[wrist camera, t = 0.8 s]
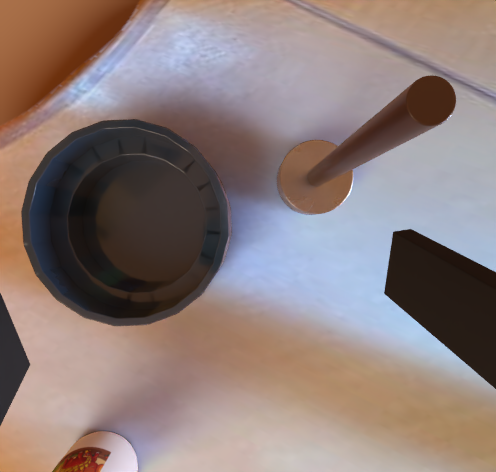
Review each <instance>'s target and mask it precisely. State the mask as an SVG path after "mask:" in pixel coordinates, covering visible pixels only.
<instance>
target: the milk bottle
mask: <svg viewBox="0 0 496 472" xmlns="http://www.w3.org/2000/svg"><path fill="white" fill-rule="evenodd" d="M52 472H138V461H137V457H136V454H135V451H134V449H133V447H132V446H131V444H130V443H129V442H128V441H127V440H126V439H125V438H123V437H121V436H120V435H118V434H115V433H113V432H108V431H99V432H93V433H91V434H88V435H86V436H84V437H82V438H81V439H79V440H78V441H77V442H76V443H75V444H74V445H73V446H72V447H71V448H70V450H69V451H68V452H67V453H66V455H65V456H64V457H63V458H62V460H61V461H60V462H59V463H58V465H57V466H56V467H55V469H54V470H53V471H52Z"/></svg>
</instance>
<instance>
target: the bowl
mask: <svg viewBox="0 0 496 472" xmlns="http://www.w3.org/2000/svg"><path fill="white" fill-rule="evenodd" d="M21 212H22V228H23V242H24V247H25V249H26V252H27V254H28V257H29V259H30V262H31V264H32V267H33V269H34V272H35V274H36V276H37V277H38V278H39V279H40V281H41V282H42V283H43V284H44V285H45V287H46V288H47V289H48V290H49V291H50V293H51V294H52V295H53V296H54V298H55V299H56V300H57V301H59V302H60V303H62V304H63V305H65V306H67V307H68V308H70V309H71V310H73V311H74V312H76V313H77V314H79V315H81V316H82V317H84V318H86V319H90V320H94V321H97V322H101V323H105V324H108V325H112V326H134V325H147V324H151V323H154V322H157V321H159V320H162V319H165V318H167V317H170V316H173V315H175V314H177V313H179V312H180V311H182V310H183V309H184V308H185V307H187V306H188V305H189V304H190V303H192V302H193V301H194V300H196V299H197V298H198V297H199V296H201V295H202V293H204V291H205V289H206V288H207V286H208V285H209V283H210V282H211V280H212V279H213V277H214V276H215V274H216V273H217V271H218V270H219V268H220V267H221V265H222V263H223V262H224V260H225V257H226V254H227V250H228V246H229V243H230V239H231V236H232V223H231V207H230V203H229V201H228V198H227V195H226V193H225V190H224V187H223V185H222V182H221V180H220V179H219V177H218V175H217V174H216V172H215V171H214V170H213V168H212V167H211V166H210V165H209V163H208V162H207V161H206V159H205V158H204V157H203V156H202V154H201V153H200V152H199V151H198V149H197V148H196V147H195V146H194V145H192V144H191V143H189V142H188V141H186V140H185V139H183V138H182V137H180V136H179V135H177V134H176V133H174V132H173V131H171V130H170V129H168V128H165V127H162V126H158V125H155V124H151V123H147V122H144V121H140V120H137V119H131V120H107V121H101V122H98V123H96V124H93V125H90V126H88V127H85V128H82V129H80V130H77V131H74V132H72V133H71V134H69V135H68V136H67V137H66V138H65V139H63V140H62V141H61V142H60V143H58V144H57V145H56V146H55V147H54V148H52V149H51V150H50V151H49V152H47V154H46V155H45V157H44V158H43V160H42V161H41V163H40V165H39V166H38V168H37V169H36V171H35V172H34V174H33V176H32V177H31V179H30V181H29V183H28V187H27V191H26V195H25V199H24V203H23V207H22V211H21Z"/></svg>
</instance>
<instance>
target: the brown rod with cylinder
mask: <svg viewBox="0 0 496 472" xmlns="http://www.w3.org/2000/svg"><path fill="white" fill-rule="evenodd" d="M455 104H456V96H455V92H454V89H453V87H452V86H451V85H450V83H449V82H447V81H446V80H445V79H443V78H441V77H438V76H425V77H422V78H420V79H418V80H416V81H415V82H414V83H413V84H412V85H410V86H409V87H408V88H407V89H406V90H404V91H403V92H402V93H401V94H400V95H399V96H397V97H396V98H395V99H394V100H393V101H391V102H390V103H389V104H388V105H387V106H385V107H384V108H383V109H382V110H381V111H380V112H378V113H377V114H376V115H375V116H374V117H372V118H371V119H370V120H369V121H368V122H366V123H365V124H364V125H363V126H362V127H361V128H359V129H358V130H357V131H356V132H355V133H353V134H352V135H351V136H350V137H349V138H347V139H346V140H345V141H344V142H343V143H342V144H340V145H339V146H338V147H337V146H336V145H334V144H332V143H330V142H327V141H323V140H310V141H306V142H303V143H301V144H299V145H297V146H296V147H294V148H293V149H292V150H291V151H290V152H289V153H288V154H287V156H286V157H285V159H284V160H283V162H282V164H281V166H280V168H279V171H278V175H277V188H278V192H279V194H280V196H281V198H282V200H283V201H284V203H285V204H286V205H287V206H288V207H290V208H291V209H292V210H294V211H296V212H298V213H301V214H306V215H314V214H322V213H326V212H329V211H331V210H333V209H335V208H337V207H338V206H339V205H341V204H342V203H343V202H344V200H345V199H346V198H347V196H348V195H349V193H350V190H351V187H352V183H353V170H352V169H354V168H356V167H358V166H360V165H362V164H364V163H366V162H368V161H370V160H372V159H373V158H375V157H377V156H379V155H381V154H383V153H385V152H387V151H389V150H391V149H393V148H395V147H397V146H399V145H401V144H403V143H405V142H407V141H409V140H411V139H413V138H415V137H417V136H418V135H420V134H422V133H424V132H426V131H428V130H430V129H432V128H434V127H436V126H438V125H440V124H442V123H444V122H445V121H446V120H447V119H448V118H449V117H450V116H451V115H452V113H453V111H454V108H455Z"/></svg>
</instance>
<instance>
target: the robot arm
mask: <svg viewBox="0 0 496 472" xmlns="http://www.w3.org/2000/svg"><path fill="white" fill-rule="evenodd" d="M384 294H385V295H387V296H388V297H389V298H390V299H391V300H392V301H394V302H395V303H396V304H397V305H398V306H399V307H401V308H402V309H403V310H404V311H405V312H406V313H408V314H409V315H410V316H411V317H412V318H413V319H415V320H416V321H417V322H418V323H419V324H420V325H422V326H423V327H424V328H425V329H426V330H427V331H429V332H430V333H431V334H432V335H433V336H435V337H436V338H437V339H438V340H439V341H440V342H442V343H443V344H444V345H445V346H446V347H447V348H449V349H450V350H451V351H452V352H453V353H454V354H456V355H457V356H458V357H459V358H460V359H461V360H463V361H464V362H465V363H466V364H467V365H468V366H470V367H471V368H472V369H473V370H474V371H475V372H477V373H478V374H479V375H480V376H481V377H482V378H484V379H485V380H486V381H487V382H488V383H489V384H491V385H492V386H493V387H494V388H495V389H496V272H494V271H492V270H490V269H488V268H486V267H484V266H482V265H480V264H478V263H476V262H474V261H472V260H471V259H469V258H467V257H465V256H463V255H461V254H459V253H457V252H455V251H453V250H451V249H449V248H447V247H445V246H443V245H441V244H439V243H437V242H435V241H433V240H431V239H429V238H427V237H425V236H423V235H421V234H419V233H417V232H416V231H414V230H412V229H409V230H402V231H396V232H393V238H392V245H391V251H390V258H389V265H388V272H387V279H386V285H385V292H384ZM29 366H30V363H29V360H28V358H27V356H26V353H25V351H24V348H23V346H22V344H21V341H20V339H19V336H18V334H17V332H16V329H15V327H14V324H13V322H12V320H11V317H10V315H9V312H8V310H7V308H6V305H5V303H4V300H3V298H2V296H1V293H0V425H1V423H2V421H3V419H4V417H5V415H6V413H7V411H8V409H9V407H10V405H11V403H12V401H13V399H14V397H15V395H16V393H17V391H18V388H19V386H20V384H21V382H22V380H23V378H24V376H25V374H26V372H27V370H28V368H29Z"/></svg>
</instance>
